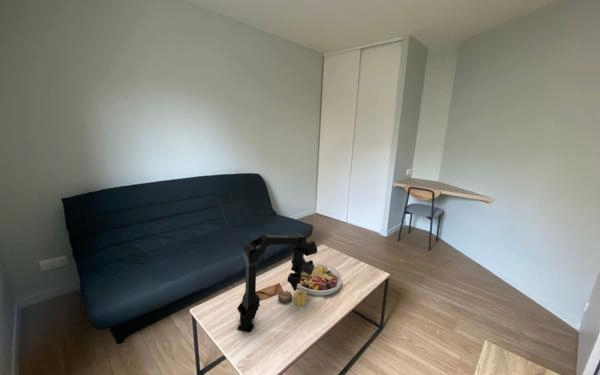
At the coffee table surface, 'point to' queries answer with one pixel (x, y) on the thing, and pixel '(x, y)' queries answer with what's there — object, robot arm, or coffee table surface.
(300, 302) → the gear
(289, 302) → the gear board
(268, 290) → the sunglasses case
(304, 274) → the bowl
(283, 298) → the gear
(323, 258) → the coffee table surface
